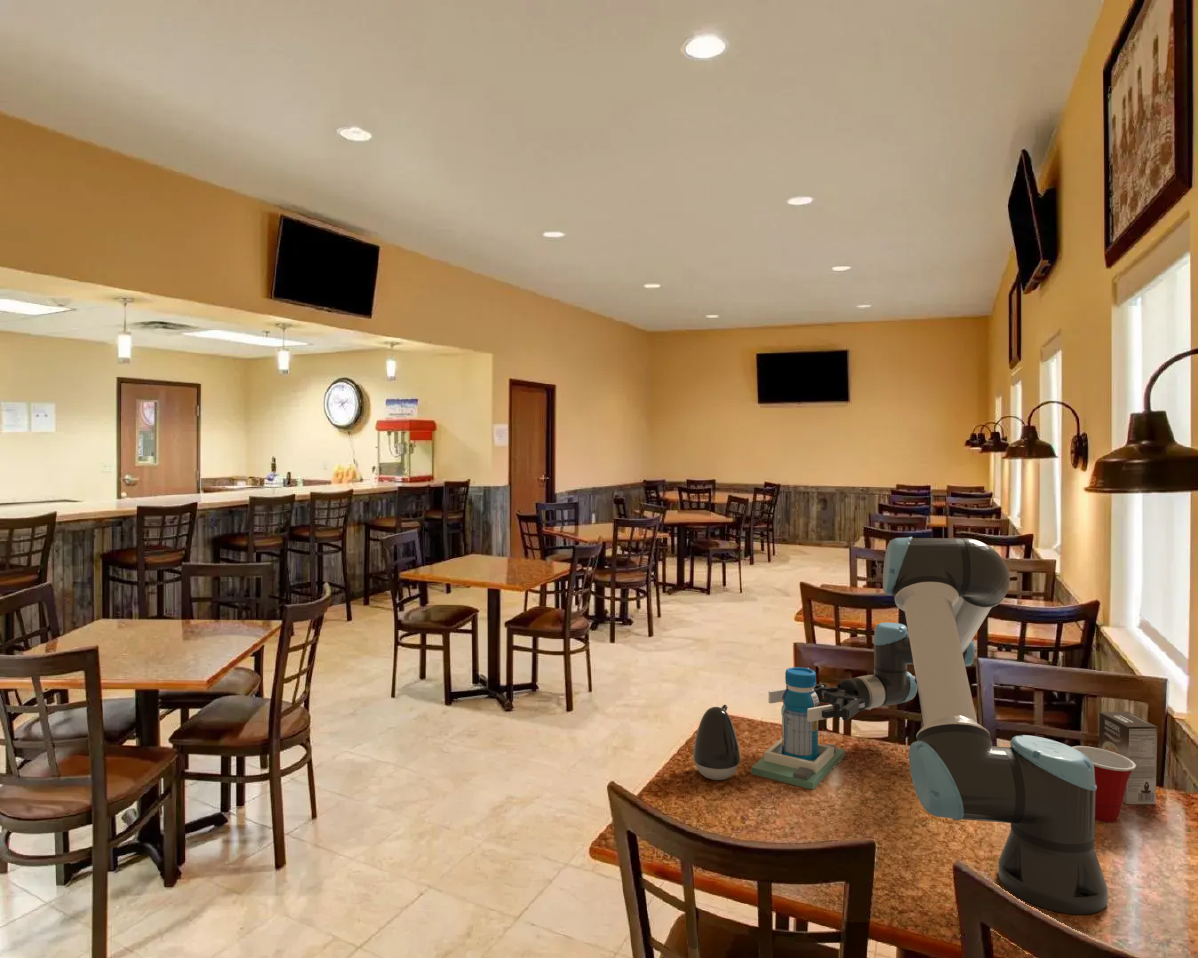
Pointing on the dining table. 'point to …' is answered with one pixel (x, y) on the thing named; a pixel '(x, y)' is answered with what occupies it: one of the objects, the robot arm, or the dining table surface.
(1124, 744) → the coffee box
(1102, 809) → the plastic cup
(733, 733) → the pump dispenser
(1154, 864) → the dining table surface
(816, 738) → the beverage bottle
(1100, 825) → the dining table surface
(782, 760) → the board
